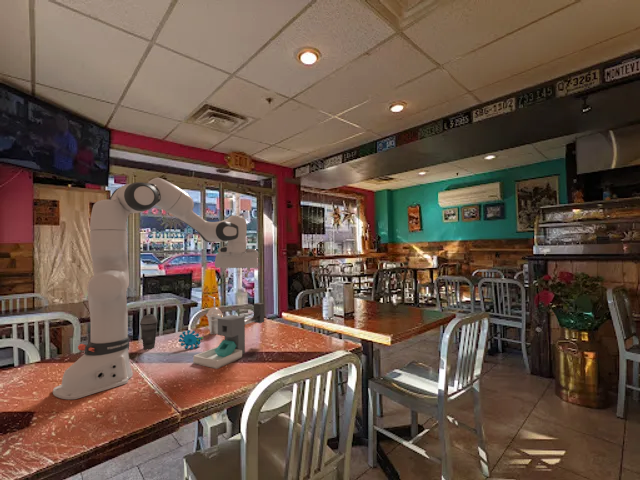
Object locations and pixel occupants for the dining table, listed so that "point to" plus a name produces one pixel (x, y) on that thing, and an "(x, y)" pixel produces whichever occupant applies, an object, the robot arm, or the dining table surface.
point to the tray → (216, 358)
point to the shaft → (257, 314)
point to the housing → (233, 330)
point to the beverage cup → (148, 330)
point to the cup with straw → (213, 318)
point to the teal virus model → (190, 339)
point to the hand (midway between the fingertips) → (236, 277)
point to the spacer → (225, 348)
